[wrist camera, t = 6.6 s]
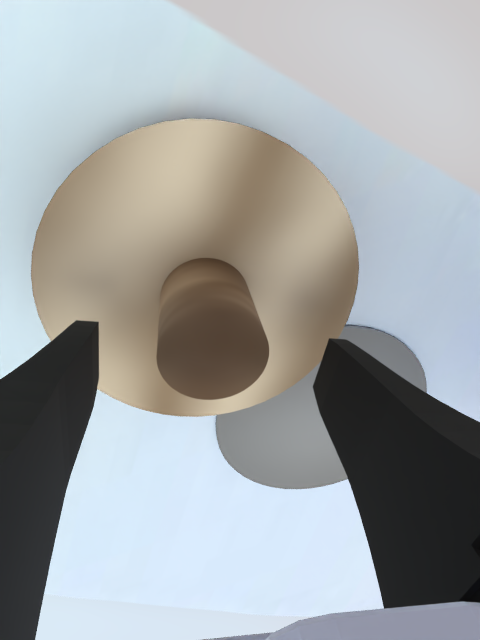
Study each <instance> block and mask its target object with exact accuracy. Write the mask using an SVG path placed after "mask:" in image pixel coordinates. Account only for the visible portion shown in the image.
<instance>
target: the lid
mask: <svg viewBox="0 0 480 640" xmlns="http://www.w3.org/2000/svg"><path fill="white" fill-rule="evenodd" d="M358 271H359V261H358V247H357V242H356V238H355V233H354V228H353V226H352V223H351V220H350V217H349V215H348V212H347V210H346V208H345V206H344V204H343V202H342V200H341V199H340V197H339V195H338V193H337V191H336V190H335V189H334V187H333V186H332V185H331V183H330V182H329V181H328V180H327V178H326V177H325V176H324V174H323V173H322V172H321V171H320V170H319V169H318V168H317V167H316V166H314V165H313V164H312V163H311V162H310V161H309V160H308V159H307V158H306V157H304V156H303V155H302V154H300V153H299V152H298V151H296V150H295V149H293V148H292V147H291V146H289V145H288V144H286V143H284V142H282V141H280V140H278V139H276V138H274V137H272V136H270V135H268V134H266V133H264V132H262V131H259V130H256V129H253V128H250V127H247V126H244V125H241V124H238V123H232V122H227V121H221V120H216V119H191V118H189V119H180V120H171V121H164V122H160V123H156V124H152V125H149V126H145V127H141V128H138V129H136V130H134V131H132V132H129V133H127V134H125V135H122V136H120V137H118V138H116V139H114V140H113V141H111V142H110V143H108V144H106V145H105V146H103V147H102V148H100V149H99V150H97V151H96V152H94V153H93V154H92V155H91V156H89V157H88V158H87V159H86V160H85V161H84V162H83V163H81V164H80V165H79V166H78V167H77V168H76V169H75V170H73V171H72V173H71V174H70V175H69V176H68V177H67V179H66V180H65V181H64V182H63V183H62V185H61V186H60V187H59V188H58V189H57V191H56V193H55V194H54V196H53V198H52V199H51V201H50V203H49V204H48V206H47V208H46V210H45V212H44V214H43V217H42V219H41V222H40V224H39V227H38V230H37V233H36V237H35V242H34V247H33V251H32V265H31V279H32V289H33V296H34V300H35V304H36V308H37V311H38V315H39V317H40V320H41V322H42V324H43V327H44V329H45V331H46V333H47V335H48V337H49V338H50V340H51V341H52V340H53V339H55V338H56V337H57V336H58V335H59V334H60V333H62V332H63V331H64V330H65V329H66V328H67V327H68V326H70V325H71V324H72V323H73V322H75V321H76V320H81V321H95V322H99V381H98V386H97V389H98V390H100V391H102V392H104V393H105V394H107V395H109V396H110V397H112V398H114V399H116V400H119V401H121V402H123V403H125V404H128V405H130V406H133V407H136V408H140V409H143V410H146V411H150V412H155V413H160V414H165V415H174V416H195V417H198V416H211V415H219V414H225V413H230V412H235V411H238V410H242V409H245V408H249V407H252V406H254V405H257V404H259V403H262V402H265V401H267V400H269V399H271V398H273V397H275V396H277V395H279V394H280V393H282V392H284V391H285V390H287V389H288V388H290V387H292V386H293V385H295V384H296V383H297V382H298V381H300V380H301V379H302V378H304V377H305V376H306V375H307V374H308V373H309V372H310V371H312V370H313V369H314V368H315V367H316V366H317V365H318V364H319V363H320V362H321V360H322V358H323V355H324V352H325V349H326V346H327V343H328V340H329V338H333V339H338V337H339V336H340V334H341V332H342V330H343V328H344V326H345V324H346V322H347V320H348V318H349V315H350V312H351V309H352V306H353V303H354V299H355V294H356V290H357V284H358Z"/></svg>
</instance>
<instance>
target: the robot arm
mask: <svg viewBox="0 0 480 640" xmlns="http://www.w3.org/2000/svg"><path fill="white" fill-rule="evenodd" d="M98 381H99V322H95V321H81V320H76V321H75V322H73V323H72V324H71V325H70V326H68V327H67V328H66V329H65V330H64V331H63V332H62V333H60V334H59V335H58V336H57V337H56V338H55V339H53V340H52V341H51V342H50V343H49V344H47V345H46V346H45V347H44V348H42V349H41V350H40V351H39V352H37V353H36V354H35V355H34V356H33V357H31V358H30V359H29V360H27V361H26V362H25V363H23V364H22V365H20V366H19V367H18V368H16V369H15V370H13V371H12V372H11V373H9V374H8V375H6V376H5V377H3V378H2V379H0V640H35V636H36V631H37V626H38V621H39V616H40V610H41V605H42V600H43V595H44V591H45V586H46V581H47V576H48V571H49V566H50V561H51V556H52V552H53V547H54V542H55V538H56V533H57V528H58V524H59V519H60V515H61V511H62V506H63V502H64V497H65V493H66V489H67V486H68V482H69V479H70V475H71V472H72V469H73V466H74V463H75V460H76V457H77V454H78V451H79V449H80V446H81V443H82V440H83V437H84V434H85V431H86V428H87V425H88V422H89V419H90V416H91V413H92V410H93V406H94V401H95V396H96V391H97V386H98ZM313 390H314V394H315V398H316V402H317V405H318V409H319V412H320V415H321V417H322V420H323V422H324V424H325V427H326V429H327V431H328V434H329V436H330V438H331V441H332V443H333V445H334V447H335V450H336V452H337V454H338V456H339V459H340V461H341V463H342V465H343V468H344V470H345V472H346V475H347V477H348V480H349V482H350V485H351V488H352V491H353V494H354V497H355V500H356V503H357V507H358V510H359V513H360V516H361V519H362V523H363V526H364V530H365V533H366V537H367V540H368V544H369V547H370V551H371V555H372V559H373V563H374V567H375V571H376V575H377V579H378V583H379V587H380V592H381V596H382V601H383V606H384V609H376V610H365V611H354V612H343V613H333V614H327V615H322V616H318V617H313V618H308V619H304V620H299V621H297V622H295V623H293V624H291V625H288V626H287V627H284V628H282V629H280V630H278V631H276V632H274V633H264V634H253V635H244V636H234V637H224V638H214V639H204V640H480V422H478V421H476V420H474V419H472V418H470V417H468V416H466V415H464V414H462V413H460V412H458V411H457V410H455V409H453V408H451V407H449V406H448V405H446V404H444V403H442V402H440V401H439V400H437V399H435V398H434V397H432V396H430V395H429V394H427V393H425V392H424V391H422V390H421V389H419V388H418V387H416V386H414V385H413V384H411V383H410V382H408V381H407V380H405V379H404V378H402V377H401V376H399V375H398V374H397V373H395V372H394V371H392V370H391V369H389V368H388V367H387V366H385V365H384V364H382V363H381V362H380V361H378V360H377V359H375V358H374V357H373V356H371V355H370V354H368V353H367V352H365V351H364V350H362V349H361V348H360V347H358V346H356V345H355V344H353V343H352V342H350V341H348V340H346V339H333V338H329V340H328V343H327V346H326V349H325V352H324V355H323V358H322V361H321V364H320V366H319V369H318V372H317V375H316V378H315V381H314V384H313Z"/></svg>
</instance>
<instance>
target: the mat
mask: <svg viewBox="0 0 480 640" xmlns="http://www.w3.org/2000/svg"><path fill="white" fill-rule="evenodd" d="M338 339H346V340H348V341H350V342H352V343H353V344H355V345H356V346H358V347H360V348H361V349H362V350H364V351H365V352H367V353H368V354H370V355H371V356H373V357H374V358H375V359H377V360H378V361H380V362H381V363H382V364H384V365H385V366H387V367H388V368H389V369H391V370H392V371H394V372H395V373H397V374H398V375H399V376H401V377H402V378H404V379H405V380H407V381H408V382H410V383H411V384H413V385H414V386H416V387H418V388H419V389H421V390H422V391H424V392H425V393H426V392H427V391H426V378H425V374H424V371H423V368H422V366H421V364H420V362H419V361H418V359H417V358H416V356H415V355H414V354H413V352H412V351H411V350H410V349H409V348H408V347H407V346H406V345H405V344H404V343H402V342H401V341H399V340H398V339H396V338H395V337H393V336H391V335H389V334H387V333H385V332H382V331H379V330H376V329H372V328H368V327H361V326H346V325H345V326H344V328H343V330H342V332H341V334H340V336H339V337H338ZM321 361H322V360H321ZM320 364H321V362H320V363H319V364H318V365H317V366H316V367H315V368H314V369H313V370H312V371H310V372H309V373H308V374H307V375H306V376H305V377H304V378H302V379H301V380H300V381H298V382H297V383H296V384H295V385H293V386H292V387H290V388H288V389H287V390H285V391H284V392H282V393H280V394H279V395H277V396H275V397H273V398H271V399H269V400H267V401H265V402H262V403H259V404H257V405H254V406H252V407H249V408H245V409H242V410H238V411H235V412H230V413H225V414H219V415H217V417H216V434H217V440H218V444H219V448H220V450H221V452H222V454H223V456H224V458H225V459H226V460H227V462H228V463H229V464H230V465H231V466H232V467H233V468H234V469H235V470H236V471H237V472H238V473H240V474H241V475H243V476H244V477H246V478H248V479H250V480H252V481H254V482H257V483H259V484H262V485H266V486H270V487H275V488H283V489H307V488H315V487H321V486H326V485H330V484H334V483H337V482H340V481H343V480H346V479H348V477H347V475H346V472H345V470H344V468H343V465H342V463H341V461H340V459H339V456H338V454H337V452H336V450H335V447H334V445H333V443H332V441H331V438H330V436H329V434H328V431H327V429H326V427H325V424H324V422H323V420H322V417H321V415H320V412H319V409H318V405H317V402H316V398H315V394H314V390H313V384H314V381H315V378H316V375H317V372H318V369H319V366H320Z"/></svg>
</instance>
